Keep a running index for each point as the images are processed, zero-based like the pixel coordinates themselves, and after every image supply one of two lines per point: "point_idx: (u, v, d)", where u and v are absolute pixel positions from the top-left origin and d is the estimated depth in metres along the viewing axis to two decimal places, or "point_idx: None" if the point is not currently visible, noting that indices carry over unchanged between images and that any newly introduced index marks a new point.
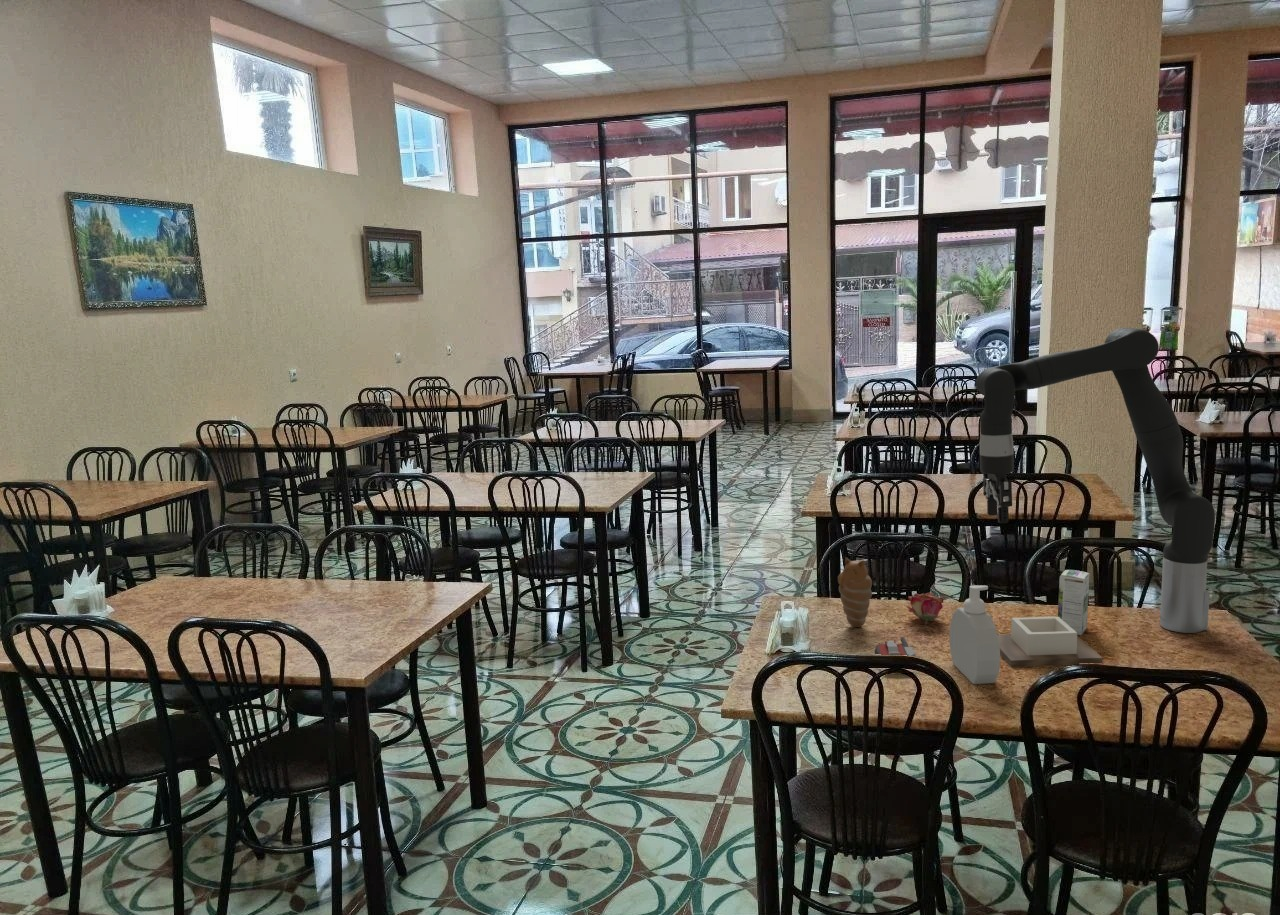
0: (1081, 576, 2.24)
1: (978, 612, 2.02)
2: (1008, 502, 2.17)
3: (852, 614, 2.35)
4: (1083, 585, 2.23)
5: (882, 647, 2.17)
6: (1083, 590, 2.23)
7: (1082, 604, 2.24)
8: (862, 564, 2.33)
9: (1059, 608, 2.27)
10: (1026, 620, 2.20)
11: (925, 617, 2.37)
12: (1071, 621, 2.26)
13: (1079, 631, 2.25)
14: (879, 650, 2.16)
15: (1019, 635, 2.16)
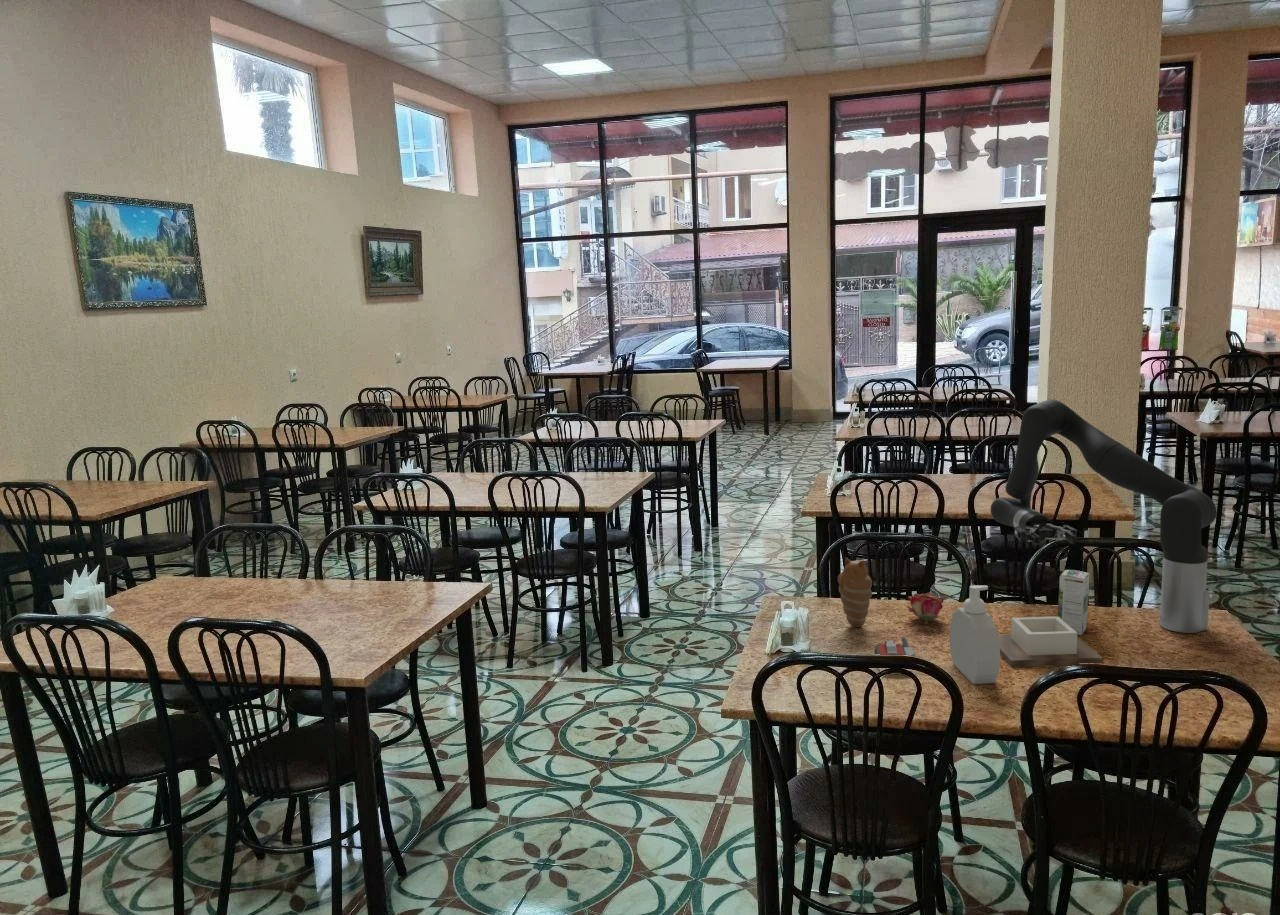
0: (1081, 576, 2.24)
1: (978, 612, 2.02)
2: None
3: (852, 614, 2.35)
4: (1083, 585, 2.23)
5: (881, 647, 2.17)
6: (1083, 590, 2.23)
7: (1082, 604, 2.24)
8: (862, 564, 2.33)
9: (1059, 608, 2.27)
10: (1026, 620, 2.20)
11: (925, 617, 2.37)
12: (1071, 621, 2.26)
13: (1079, 631, 2.25)
14: (878, 650, 2.16)
15: (1019, 635, 2.16)
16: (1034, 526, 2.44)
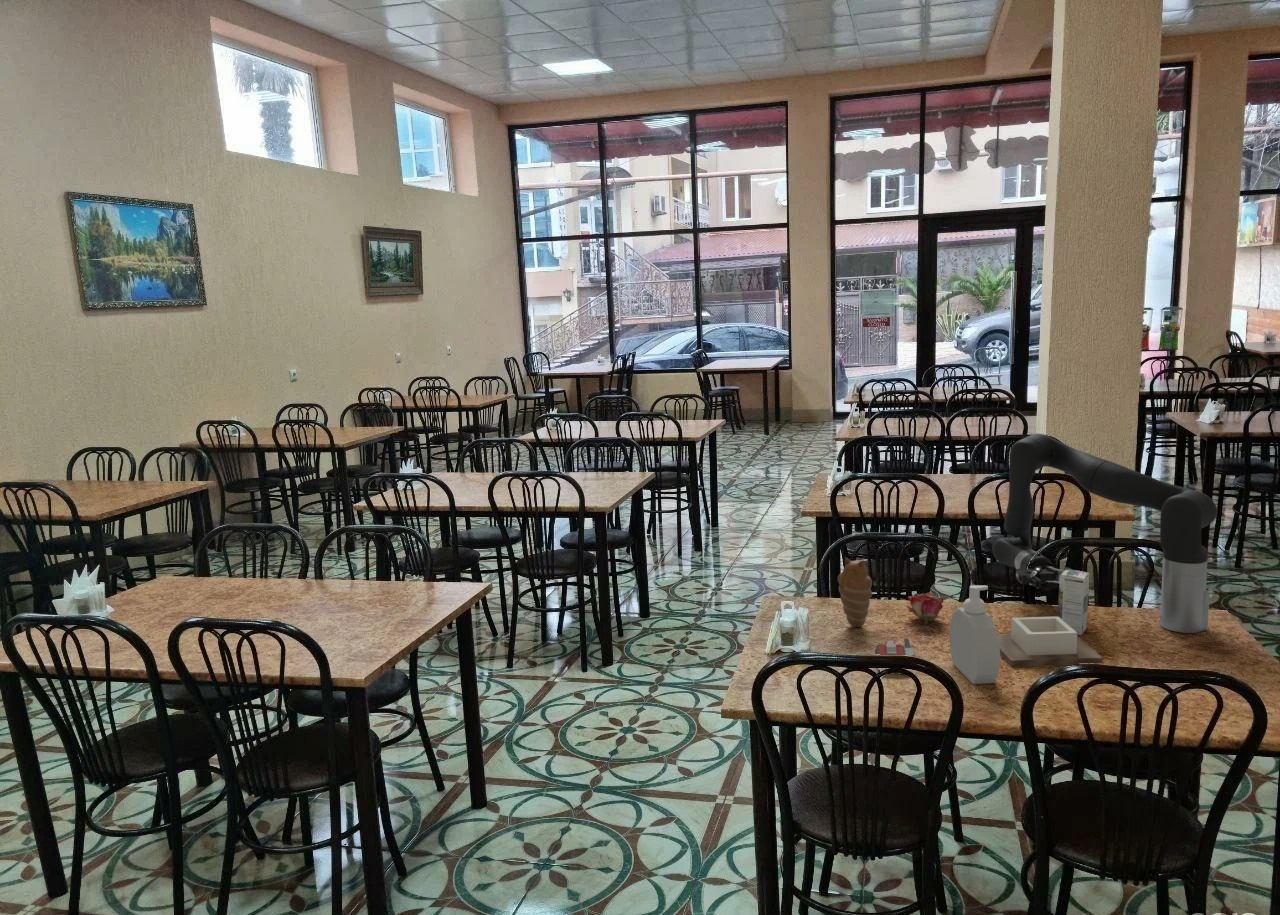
0: (1081, 576, 2.24)
1: (978, 612, 2.02)
2: None
3: (852, 614, 2.35)
4: (1083, 585, 2.23)
5: (882, 647, 2.17)
6: (1083, 590, 2.23)
7: (1082, 604, 2.24)
8: (862, 564, 2.33)
9: (1059, 608, 2.27)
10: (1026, 620, 2.20)
11: (925, 617, 2.37)
12: (1071, 621, 2.26)
13: (1079, 631, 2.25)
14: (878, 650, 2.16)
15: (1019, 635, 2.16)
16: (1035, 569, 2.45)
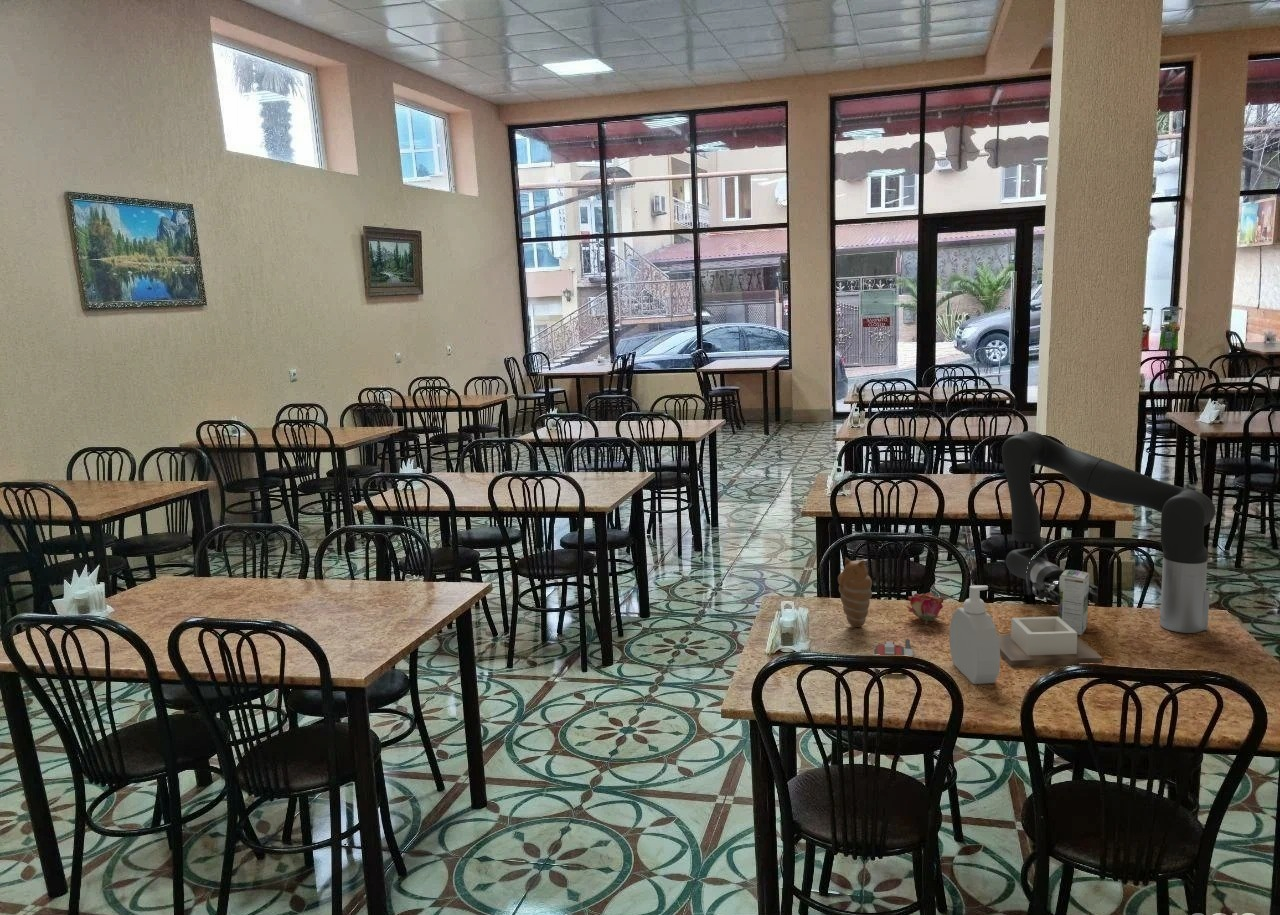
0: (1081, 576, 2.24)
1: (978, 612, 2.02)
2: None
3: (852, 614, 2.35)
4: (1083, 585, 2.23)
5: (881, 647, 2.17)
6: (1083, 590, 2.23)
7: (1082, 604, 2.24)
8: (862, 564, 2.33)
9: (1059, 608, 2.27)
10: (1026, 620, 2.20)
11: (925, 617, 2.37)
12: (1071, 621, 2.26)
13: (1079, 631, 2.25)
14: (877, 650, 2.16)
15: (1019, 635, 2.16)
16: (1053, 583, 2.33)
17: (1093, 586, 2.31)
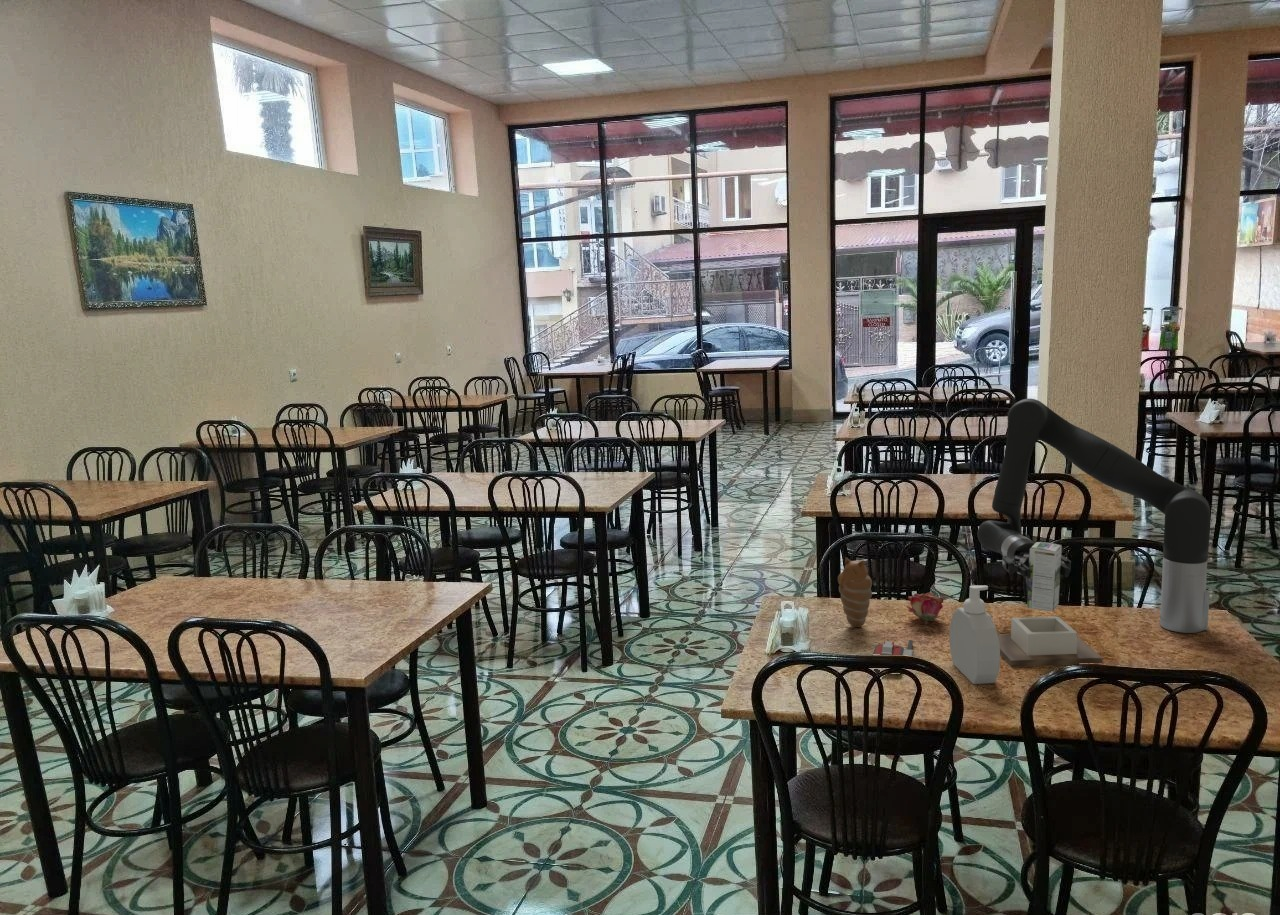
0: (1052, 548, 2.10)
1: (978, 612, 2.02)
2: None
3: (852, 614, 2.35)
4: (1054, 558, 2.09)
5: (880, 647, 2.17)
6: (1054, 563, 2.09)
7: (1053, 578, 2.10)
8: (862, 564, 2.33)
9: (1029, 583, 2.13)
10: (1026, 620, 2.20)
11: (925, 617, 2.37)
12: (1041, 597, 2.12)
13: (1050, 607, 2.11)
14: (876, 650, 2.16)
15: (1019, 635, 2.16)
16: (1024, 556, 2.19)
17: (1066, 559, 2.17)
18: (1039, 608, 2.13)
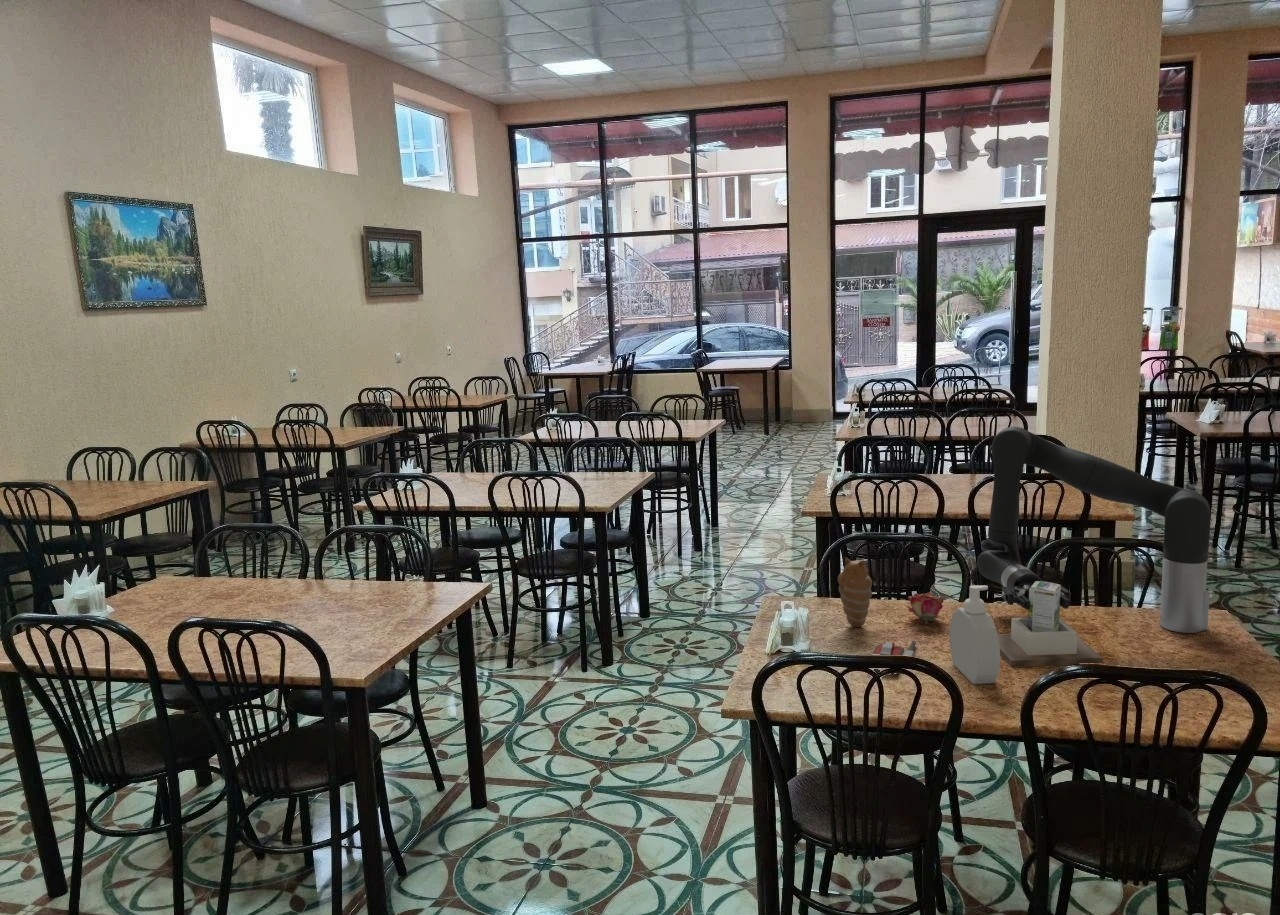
0: (1052, 588, 2.12)
1: (978, 612, 2.02)
2: None
3: (852, 614, 2.35)
4: (1054, 598, 2.11)
5: (880, 647, 2.17)
6: (1054, 603, 2.11)
7: (1053, 618, 2.11)
8: (862, 564, 2.33)
9: (1029, 622, 2.15)
10: (1026, 620, 2.20)
11: (925, 617, 2.37)
12: None
13: None
14: (875, 650, 2.16)
15: (1019, 635, 2.16)
16: (1023, 587, 2.20)
17: (1066, 591, 2.18)
18: None
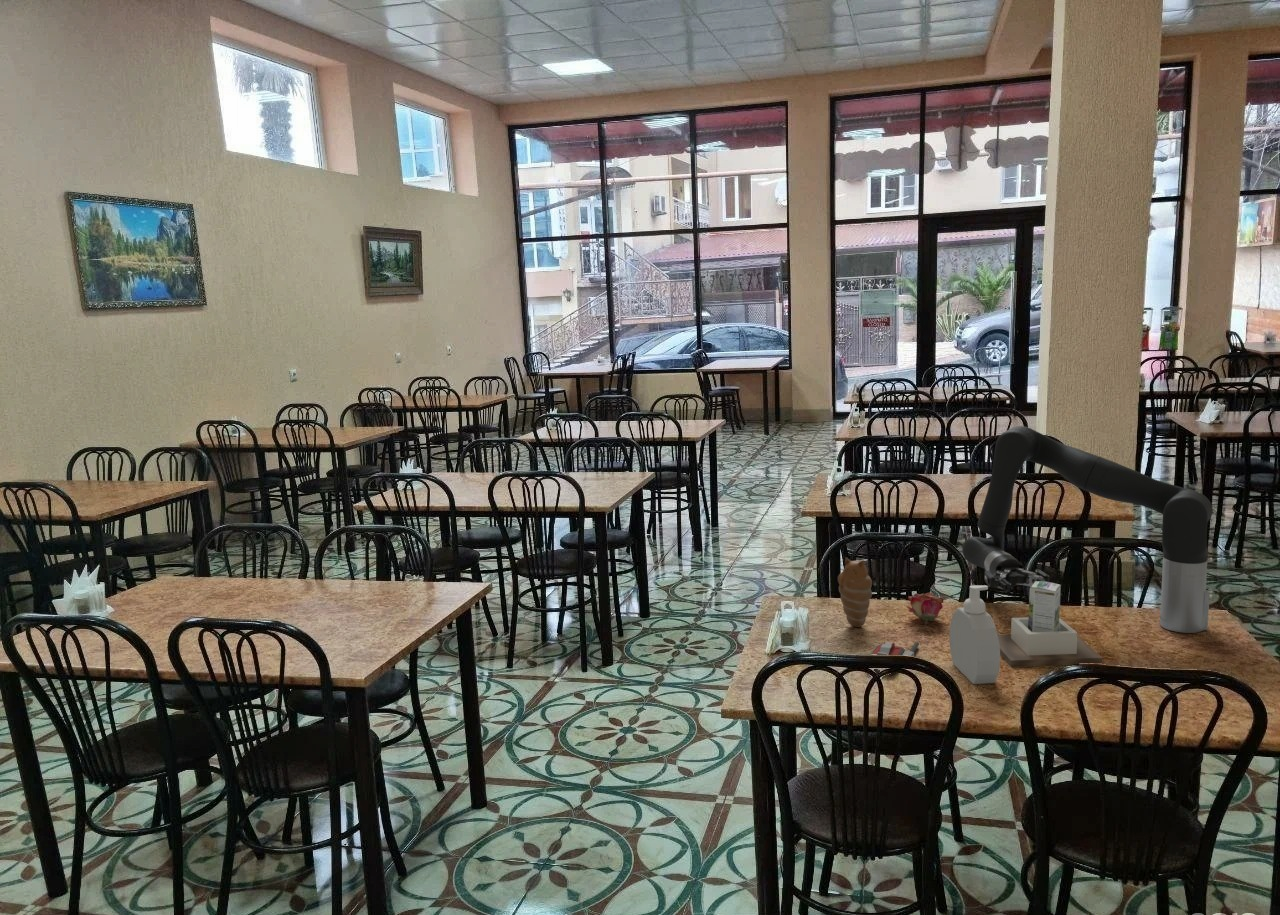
0: (1052, 588, 2.12)
1: (978, 612, 2.02)
2: None
3: (852, 614, 2.35)
4: (1054, 598, 2.11)
5: (880, 647, 2.17)
6: (1054, 603, 2.11)
7: (1053, 618, 2.12)
8: (862, 564, 2.33)
9: (1029, 622, 2.15)
10: (1026, 620, 2.20)
11: (925, 617, 2.37)
12: None
13: None
14: (875, 650, 2.16)
15: (1019, 635, 2.16)
16: (1004, 571, 2.33)
17: (1044, 574, 2.30)
18: None
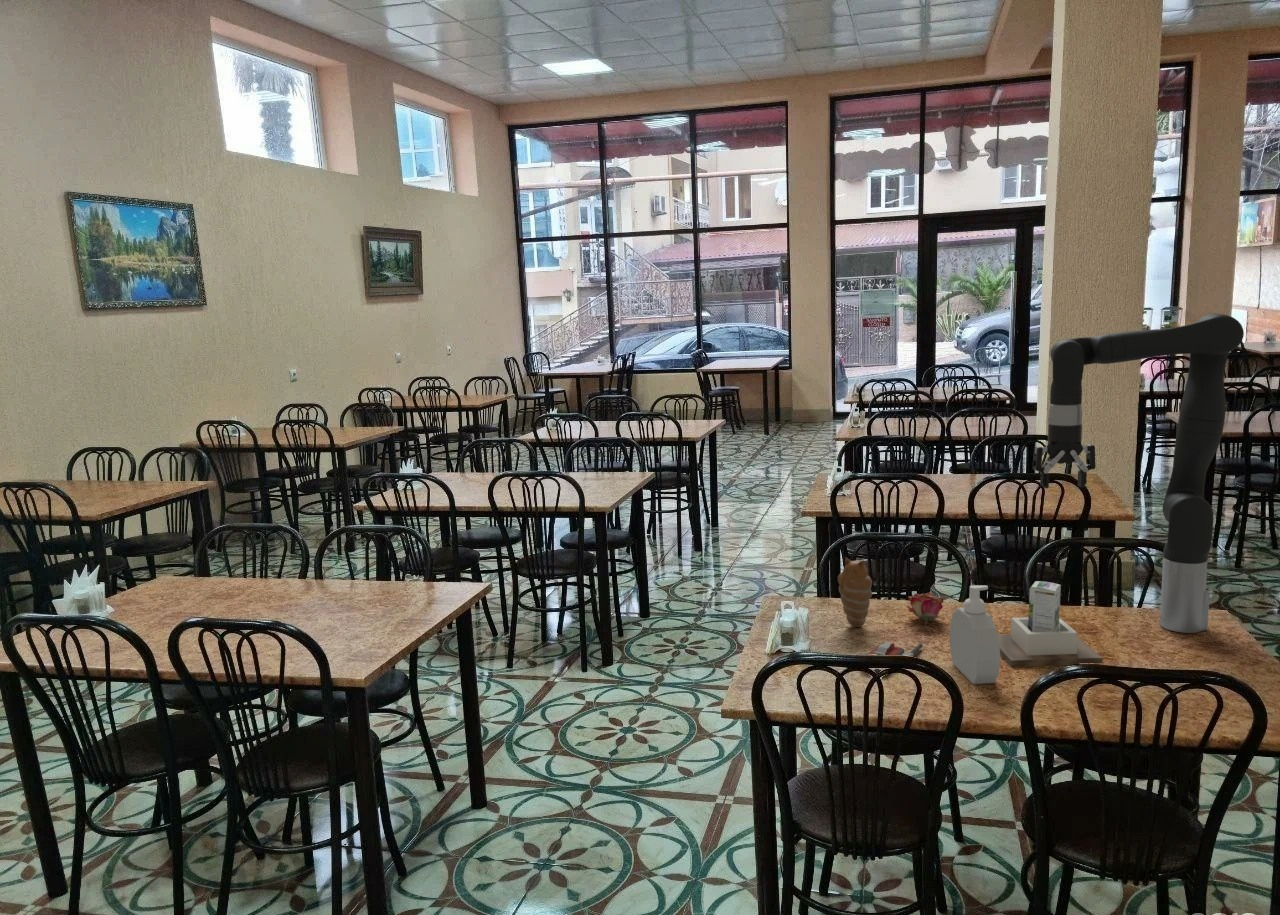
0: (1052, 588, 2.12)
1: (978, 612, 2.02)
2: (1036, 466, 2.30)
3: (852, 614, 2.35)
4: (1054, 598, 2.11)
5: None
6: (1054, 603, 2.11)
7: (1053, 618, 2.12)
8: (862, 564, 2.33)
9: (1029, 622, 2.15)
10: (1026, 620, 2.20)
11: (925, 617, 2.37)
12: None
13: None
14: (874, 649, 2.17)
15: (1019, 635, 2.16)
16: (1056, 457, 2.28)
17: (1092, 463, 2.28)
18: None
